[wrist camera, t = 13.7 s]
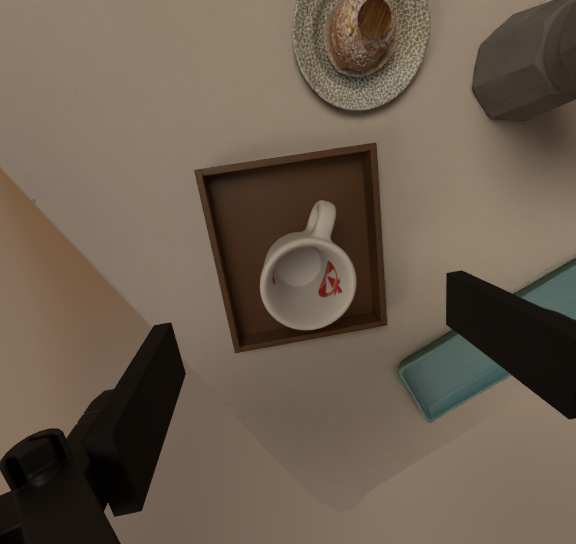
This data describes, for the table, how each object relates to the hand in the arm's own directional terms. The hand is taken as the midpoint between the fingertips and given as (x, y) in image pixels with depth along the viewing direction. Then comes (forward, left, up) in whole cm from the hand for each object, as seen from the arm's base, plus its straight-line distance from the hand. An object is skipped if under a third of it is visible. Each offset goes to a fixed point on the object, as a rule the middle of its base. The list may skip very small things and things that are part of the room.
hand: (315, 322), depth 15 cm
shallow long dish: (+24, -15, -19) cm, 35 cm away
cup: (+2, -1, -19) cm, 19 cm away
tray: (+1, -1, -19) cm, 19 cm away
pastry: (+9, +17, -19) cm, 27 cm away
